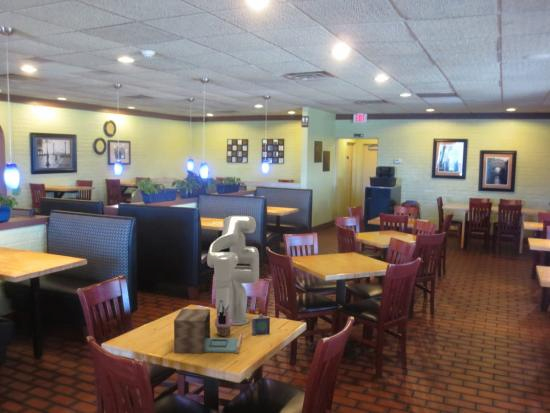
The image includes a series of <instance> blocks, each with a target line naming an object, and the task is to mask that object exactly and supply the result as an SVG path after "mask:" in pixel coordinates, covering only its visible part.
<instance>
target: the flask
mask: <svg viewBox="0 0 550 413" xmlns="http://www.w3.org/2000/svg"><path fill="white" fill-rule="evenodd" d="M251 318H252V320H251V322H252V323H251V329H252V331H251V335H252V336H263V335H267V336H268V335H270V334H271V333H270V325H271V324H270V322H271V320H270V319H271V318H270V316H267V315H263V313H259V316H255V317H254V316H253V317H251Z"/></svg>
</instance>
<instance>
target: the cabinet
mask: <svg viewBox="0 0 550 413" xmlns="http://www.w3.org/2000/svg"><path fill="white" fill-rule="evenodd" d="M173 335H174V336H173V342H174V344H173V345H174V347H173V349H174V351H173V352H174V353H175V354H205V353H206V352H205V342H204V341H205V339H206V338H211V308H181V310H180V311H179V312H178V313H177V315H176V317H175V318H174V319H173Z"/></svg>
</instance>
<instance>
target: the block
mask: <svg viewBox="0 0 550 413" xmlns="http://www.w3.org/2000/svg"><path fill="white" fill-rule="evenodd" d="M223 309H224V308H223ZM223 312H224V310H223ZM225 315H226V324H219V321H218V316H219V308H218V309H216V319H217V326H228V324H229V307H227V308H226V309H225Z"/></svg>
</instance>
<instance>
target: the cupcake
mask: <svg viewBox="0 0 550 413" xmlns="http://www.w3.org/2000/svg"><path fill="white" fill-rule="evenodd" d="M232 324H233V322H232V319H231V318H230V317H229V324H228V326H217V318H216V319H215V322H214V325H215V327H216V331H217V333H218V335H219V336H223V337H227V336H229V335H230V334H231V326H233V325H232Z"/></svg>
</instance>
